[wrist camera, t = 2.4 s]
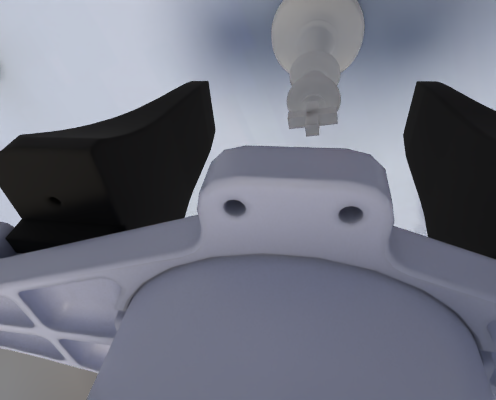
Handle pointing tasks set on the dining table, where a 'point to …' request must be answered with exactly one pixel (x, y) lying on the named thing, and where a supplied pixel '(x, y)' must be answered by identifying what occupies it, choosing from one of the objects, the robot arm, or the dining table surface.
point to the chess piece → (316, 56)
